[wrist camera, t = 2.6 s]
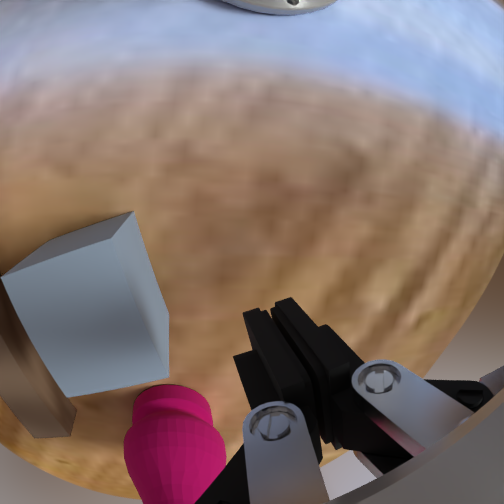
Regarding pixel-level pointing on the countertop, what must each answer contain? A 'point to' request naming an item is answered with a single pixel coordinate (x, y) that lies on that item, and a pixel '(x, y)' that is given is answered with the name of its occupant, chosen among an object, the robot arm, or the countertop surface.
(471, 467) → the robot arm
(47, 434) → the board
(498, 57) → the countertop surface
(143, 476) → the pepper mill
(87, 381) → the block
